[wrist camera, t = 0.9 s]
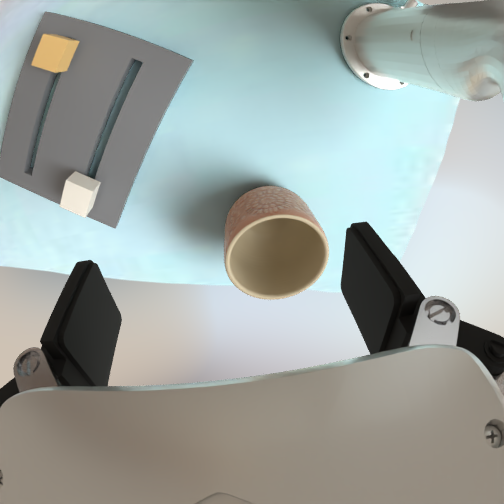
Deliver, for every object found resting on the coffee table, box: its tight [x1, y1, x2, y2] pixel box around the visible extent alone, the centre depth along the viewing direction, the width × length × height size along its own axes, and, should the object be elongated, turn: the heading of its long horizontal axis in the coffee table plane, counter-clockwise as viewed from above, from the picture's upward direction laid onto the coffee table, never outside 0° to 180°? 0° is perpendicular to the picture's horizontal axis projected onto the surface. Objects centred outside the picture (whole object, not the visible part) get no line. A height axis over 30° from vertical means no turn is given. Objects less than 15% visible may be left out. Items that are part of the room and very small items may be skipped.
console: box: [0, 12, 193, 228], centre depth 32 cm, size 25×22×2 cm
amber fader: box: [31, 34, 80, 73], centre depth 25 cm, size 4×4×5 cm
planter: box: [224, 186, 329, 299], centre depth 40 cm, size 12×12×11 cm
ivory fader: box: [60, 171, 101, 217], centre depth 36 cm, size 4×4×5 cm
